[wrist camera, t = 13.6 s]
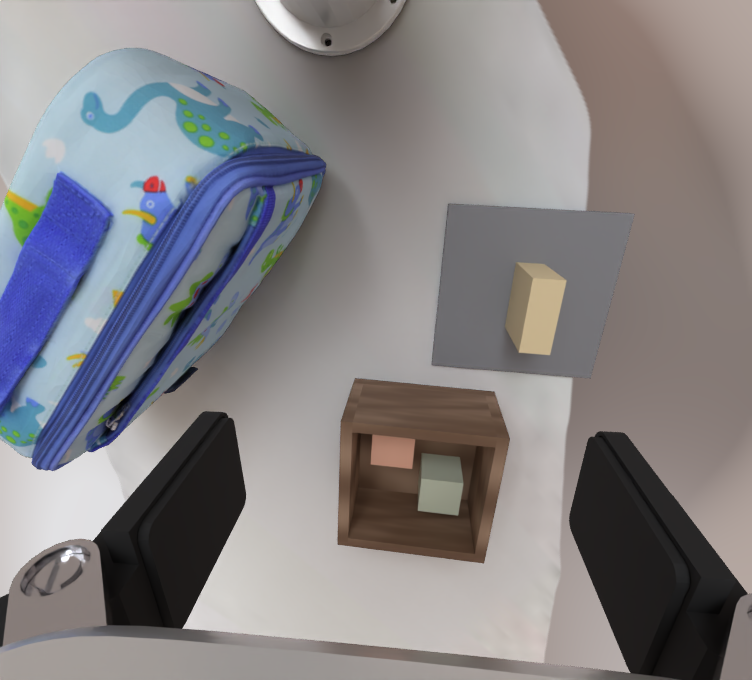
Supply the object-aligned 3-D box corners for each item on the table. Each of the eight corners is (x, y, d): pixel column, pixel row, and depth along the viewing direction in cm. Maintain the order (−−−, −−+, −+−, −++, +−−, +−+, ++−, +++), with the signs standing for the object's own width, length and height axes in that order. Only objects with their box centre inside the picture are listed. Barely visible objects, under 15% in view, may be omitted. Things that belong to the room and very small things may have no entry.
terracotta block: (377, 406, 42) (372, 429, 38) (416, 411, 42) (415, 433, 38) (375, 439, 44) (370, 464, 40) (412, 444, 43) (412, 469, 40)
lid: (448, 203, 36) (454, 209, 29) (629, 213, 35) (676, 221, 28) (431, 360, 41) (433, 395, 35) (586, 373, 40) (618, 411, 34)
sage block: (421, 452, 44) (421, 478, 40) (459, 457, 43) (463, 483, 40) (418, 483, 45) (417, 510, 41) (455, 487, 45) (458, 515, 41)
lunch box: (200, 376, 44) (27, 532, 25) (113, 311, 42) (-146, 425, 23) (353, 177, 35) (271, 178, 16) (252, 84, 34) (20, -41, 14)
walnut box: (355, 378, 42) (340, 421, 35) (494, 391, 41) (509, 438, 34) (350, 487, 47) (337, 544, 40) (474, 501, 46) (483, 563, 39)
